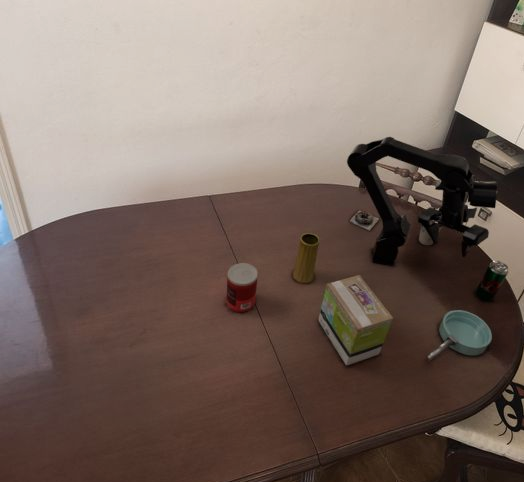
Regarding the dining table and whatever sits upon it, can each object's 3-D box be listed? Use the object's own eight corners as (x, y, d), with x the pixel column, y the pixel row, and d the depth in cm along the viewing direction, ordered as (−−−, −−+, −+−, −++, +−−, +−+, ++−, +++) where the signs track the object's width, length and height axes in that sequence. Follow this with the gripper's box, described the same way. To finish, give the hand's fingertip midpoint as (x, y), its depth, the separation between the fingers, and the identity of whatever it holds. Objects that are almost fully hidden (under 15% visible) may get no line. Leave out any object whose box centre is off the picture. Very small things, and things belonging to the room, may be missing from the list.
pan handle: (448, 338, 118) (450, 334, 117) (456, 344, 117) (458, 340, 116) (422, 357, 113) (424, 353, 112) (430, 364, 111) (432, 360, 110)
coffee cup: (438, 239, 154) (448, 215, 148) (433, 250, 149) (442, 226, 143) (418, 231, 156) (427, 207, 150) (412, 241, 152) (421, 217, 145)
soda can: (496, 299, 134) (513, 269, 126) (483, 304, 132) (500, 274, 124) (483, 287, 137) (499, 258, 130) (471, 291, 135) (486, 261, 128)
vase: (315, 272, 136) (323, 235, 128) (310, 286, 132) (318, 248, 123) (296, 266, 138) (302, 229, 129) (290, 279, 133) (296, 242, 124)
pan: (442, 351, 117) (447, 343, 115) (435, 315, 127) (439, 306, 125) (491, 359, 116) (497, 351, 114) (480, 322, 126) (485, 314, 124)
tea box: (316, 321, 122) (325, 281, 113) (348, 311, 125) (360, 272, 116) (345, 367, 111) (358, 328, 102) (380, 355, 115) (395, 316, 106)
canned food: (259, 297, 127) (262, 268, 120) (246, 317, 121) (249, 288, 114) (234, 287, 129) (236, 258, 122) (220, 306, 123) (222, 277, 116)
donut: (359, 210, 163) (360, 205, 162) (379, 219, 160) (380, 214, 159) (348, 221, 158) (349, 216, 156) (369, 230, 154) (370, 226, 153)
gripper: (503, 202, 121) (496, 250, 129) (442, 182, 135) (439, 226, 143) (478, 219, 116) (473, 268, 124) (417, 197, 130) (415, 242, 138)
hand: (449, 250), depth 132 cm, fingers open, 9 cm apart
